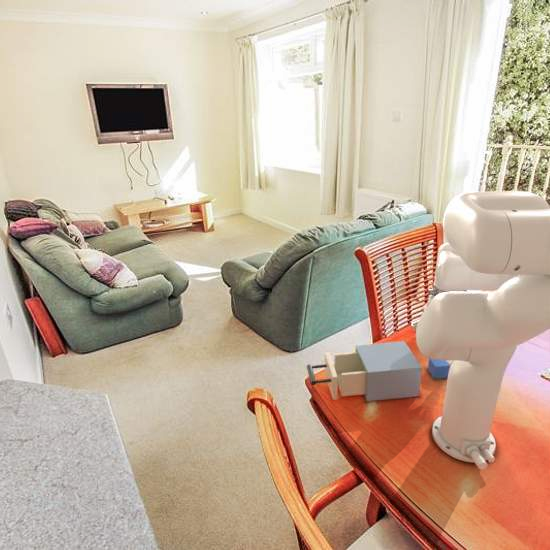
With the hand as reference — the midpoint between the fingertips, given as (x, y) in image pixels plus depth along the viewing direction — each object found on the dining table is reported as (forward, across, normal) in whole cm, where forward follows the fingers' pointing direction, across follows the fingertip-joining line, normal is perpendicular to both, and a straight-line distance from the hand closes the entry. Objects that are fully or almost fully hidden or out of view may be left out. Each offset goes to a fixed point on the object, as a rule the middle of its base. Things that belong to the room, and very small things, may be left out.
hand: (440, 348), depth 100 cm
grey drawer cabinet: (+8, -16, -3) cm, 18 cm away
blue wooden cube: (+8, 0, -1) cm, 8 cm away
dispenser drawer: (+7, -27, -3) cm, 28 cm away
